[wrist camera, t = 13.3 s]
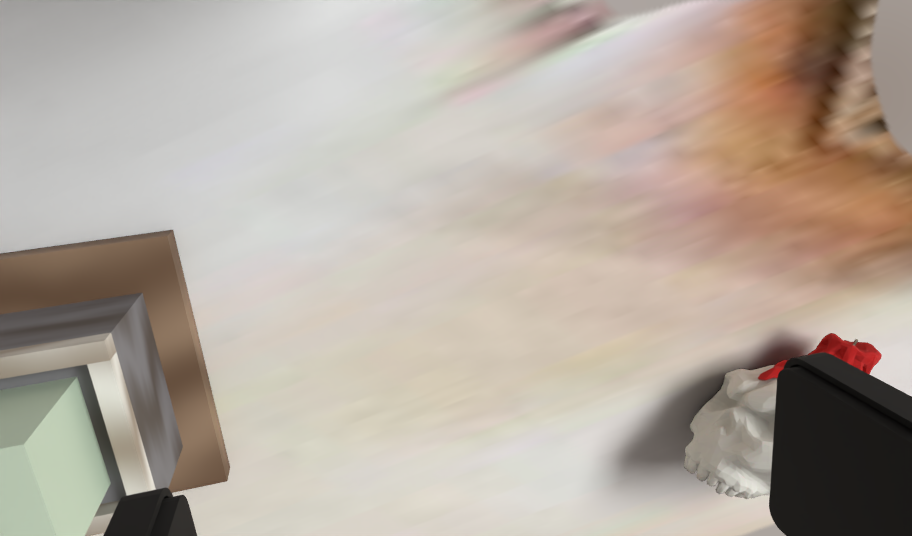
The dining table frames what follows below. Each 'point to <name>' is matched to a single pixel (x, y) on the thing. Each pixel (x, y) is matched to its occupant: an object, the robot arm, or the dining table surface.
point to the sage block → (48, 461)
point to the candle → (751, 423)
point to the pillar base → (117, 357)
